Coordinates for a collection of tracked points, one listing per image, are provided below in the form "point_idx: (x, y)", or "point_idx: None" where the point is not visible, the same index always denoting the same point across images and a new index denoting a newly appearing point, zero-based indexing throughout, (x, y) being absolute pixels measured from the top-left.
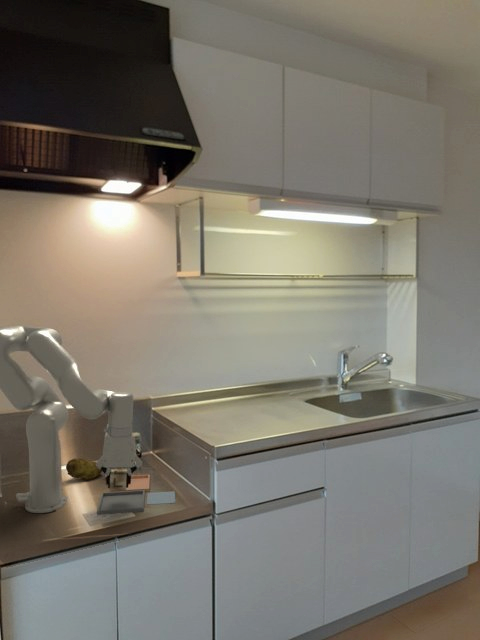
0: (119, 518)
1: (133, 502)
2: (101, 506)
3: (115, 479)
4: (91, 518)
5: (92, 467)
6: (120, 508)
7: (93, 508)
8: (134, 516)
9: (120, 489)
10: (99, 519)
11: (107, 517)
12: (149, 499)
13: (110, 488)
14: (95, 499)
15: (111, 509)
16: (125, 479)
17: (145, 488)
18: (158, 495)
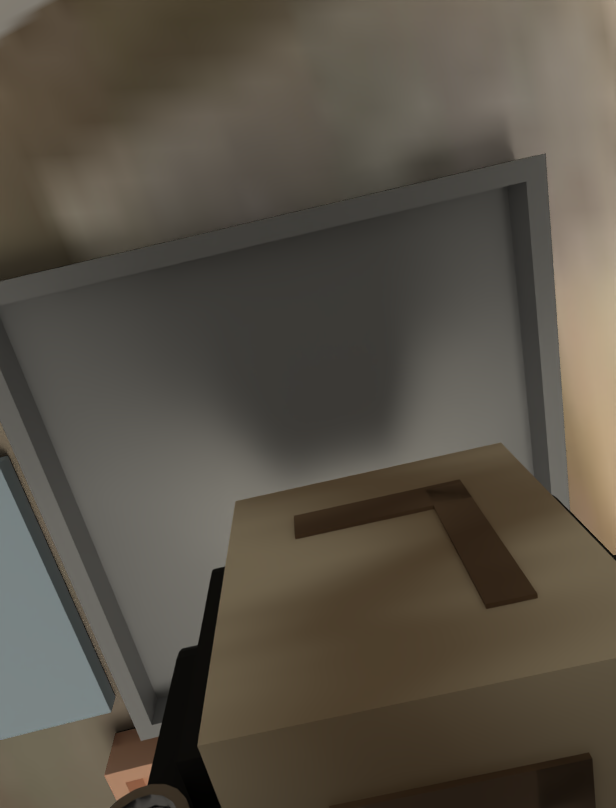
0: (224, 105)
1: (185, 501)
2: (517, 374)
3: (478, 584)
4: (569, 88)
5: None
6: (285, 341)
7: (592, 353)
8: (51, 176)
9: (325, 491)
10: (467, 63)
11: (383, 127)
12: (26, 583)
13: (504, 460)
14: (607, 548)
15: (385, 307)
16: (231, 638)
17: (146, 772)
18: None
